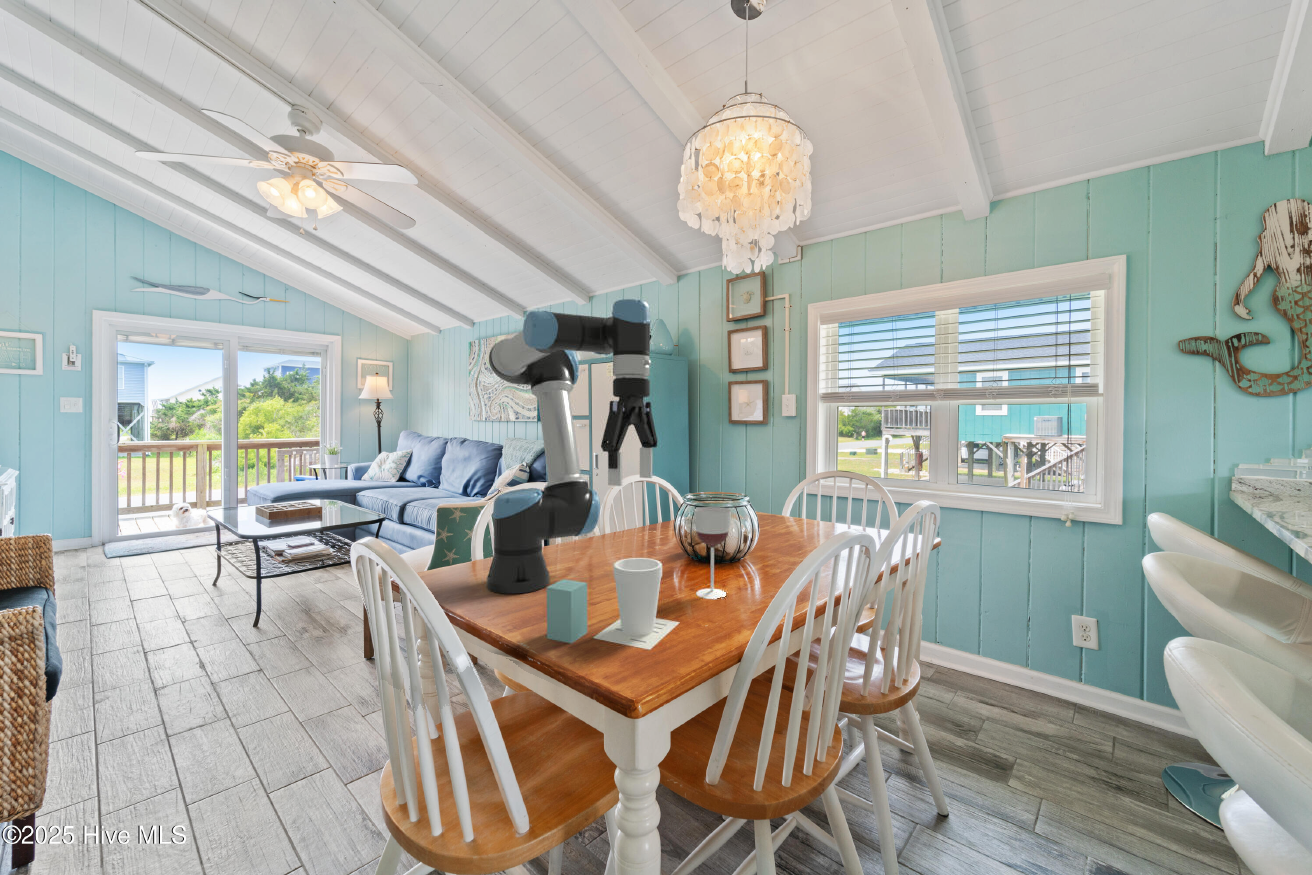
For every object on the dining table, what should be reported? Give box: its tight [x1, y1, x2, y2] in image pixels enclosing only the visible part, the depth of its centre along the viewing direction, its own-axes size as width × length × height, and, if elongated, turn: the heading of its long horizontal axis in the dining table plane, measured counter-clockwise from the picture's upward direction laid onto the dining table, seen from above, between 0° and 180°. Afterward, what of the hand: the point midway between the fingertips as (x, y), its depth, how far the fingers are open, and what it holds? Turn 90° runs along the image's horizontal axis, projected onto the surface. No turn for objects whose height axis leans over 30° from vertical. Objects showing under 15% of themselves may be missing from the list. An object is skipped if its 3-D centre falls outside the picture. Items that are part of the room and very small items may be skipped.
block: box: [546, 579, 588, 644], centre depth 104 cm, size 6×6×10 cm
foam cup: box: [613, 557, 663, 636], centre depth 106 cm, size 10×9×13 cm
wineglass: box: [693, 506, 732, 600], centre depth 128 cm, size 8×9×20 cm
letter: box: [592, 617, 680, 651], centre depth 107 cm, size 12×14×1 cm
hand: (631, 481), depth 111 cm, fingers open, 13 cm apart
